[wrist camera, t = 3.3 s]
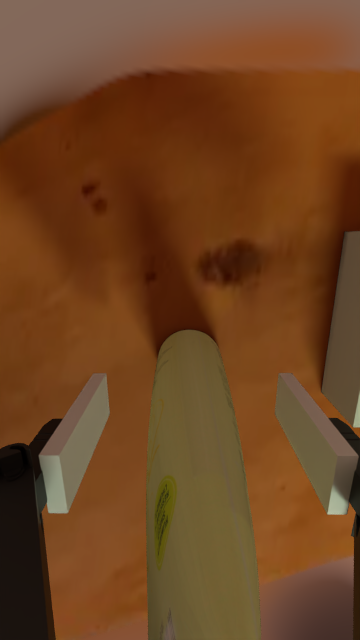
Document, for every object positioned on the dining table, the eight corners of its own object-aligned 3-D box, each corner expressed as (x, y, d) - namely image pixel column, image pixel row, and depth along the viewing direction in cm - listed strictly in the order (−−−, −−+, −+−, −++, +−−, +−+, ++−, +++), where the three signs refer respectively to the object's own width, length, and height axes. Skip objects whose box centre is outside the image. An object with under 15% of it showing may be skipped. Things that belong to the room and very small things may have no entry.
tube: (140, 345, 22) (-95, 928, 3) (193, 308, 21) (268, 820, 3) (182, 397, 23) (178, 1036, 5) (233, 364, 23) (485, 988, 4)
